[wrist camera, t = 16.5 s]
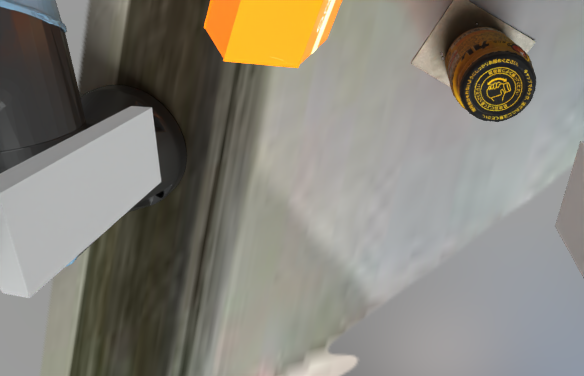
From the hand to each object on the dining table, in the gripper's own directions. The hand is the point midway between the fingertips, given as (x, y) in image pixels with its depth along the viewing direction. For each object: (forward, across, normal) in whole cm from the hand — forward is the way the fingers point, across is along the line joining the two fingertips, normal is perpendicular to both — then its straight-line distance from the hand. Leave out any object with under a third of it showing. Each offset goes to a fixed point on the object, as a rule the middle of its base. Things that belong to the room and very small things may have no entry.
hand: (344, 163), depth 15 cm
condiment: (+35, +8, -2) cm, 36 cm away
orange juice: (+35, -8, +4) cm, 36 cm away
